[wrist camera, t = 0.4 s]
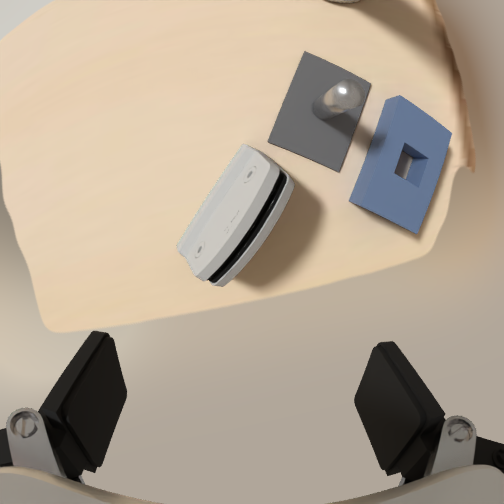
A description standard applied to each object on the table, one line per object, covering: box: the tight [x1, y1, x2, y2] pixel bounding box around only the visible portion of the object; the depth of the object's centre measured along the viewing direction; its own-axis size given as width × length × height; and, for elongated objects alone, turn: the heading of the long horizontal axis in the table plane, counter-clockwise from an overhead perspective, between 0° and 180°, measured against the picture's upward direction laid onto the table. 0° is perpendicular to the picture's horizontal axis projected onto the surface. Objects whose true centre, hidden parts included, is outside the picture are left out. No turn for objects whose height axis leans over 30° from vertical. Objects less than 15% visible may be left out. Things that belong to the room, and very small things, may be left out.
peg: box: [312, 79, 365, 120], centre depth 28 cm, size 3×3×10 cm
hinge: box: [177, 144, 295, 287], centre depth 33 cm, size 17×5×10 cm, turn 146°
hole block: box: [349, 95, 452, 234], centre depth 33 cm, size 16×10×4 cm, turn 159°
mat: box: [268, 51, 371, 172], centre depth 33 cm, size 14×10×1 cm
